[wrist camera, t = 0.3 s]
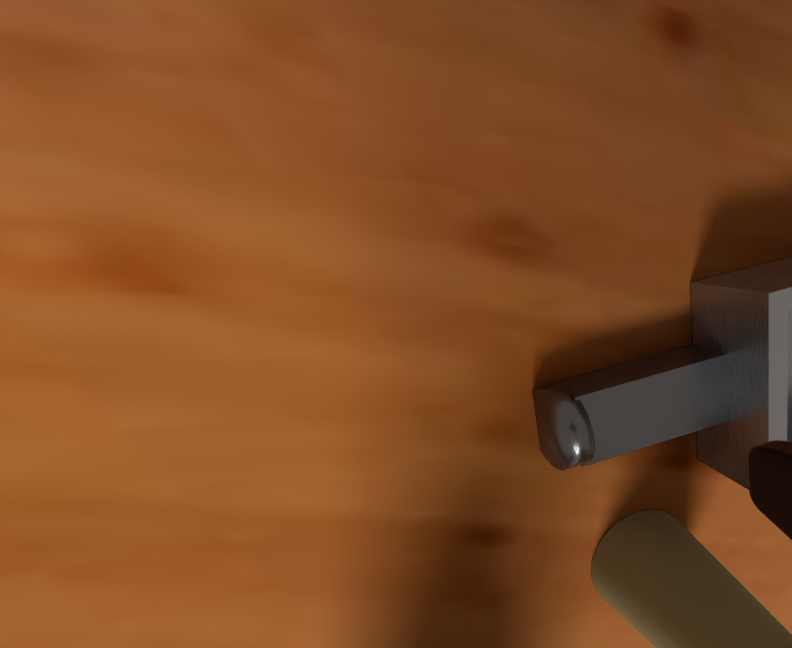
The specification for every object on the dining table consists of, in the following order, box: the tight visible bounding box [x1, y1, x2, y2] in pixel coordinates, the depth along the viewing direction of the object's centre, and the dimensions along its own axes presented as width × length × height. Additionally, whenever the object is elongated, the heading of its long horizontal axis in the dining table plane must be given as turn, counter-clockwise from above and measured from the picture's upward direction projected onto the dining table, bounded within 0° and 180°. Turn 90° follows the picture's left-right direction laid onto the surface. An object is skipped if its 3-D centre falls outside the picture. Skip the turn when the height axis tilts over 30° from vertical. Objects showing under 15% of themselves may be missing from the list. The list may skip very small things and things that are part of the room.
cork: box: [591, 510, 792, 648], centre depth 21 cm, size 6×6×11 cm
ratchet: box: [533, 257, 792, 490], centre depth 23 cm, size 10×19×5 cm, turn 101°
